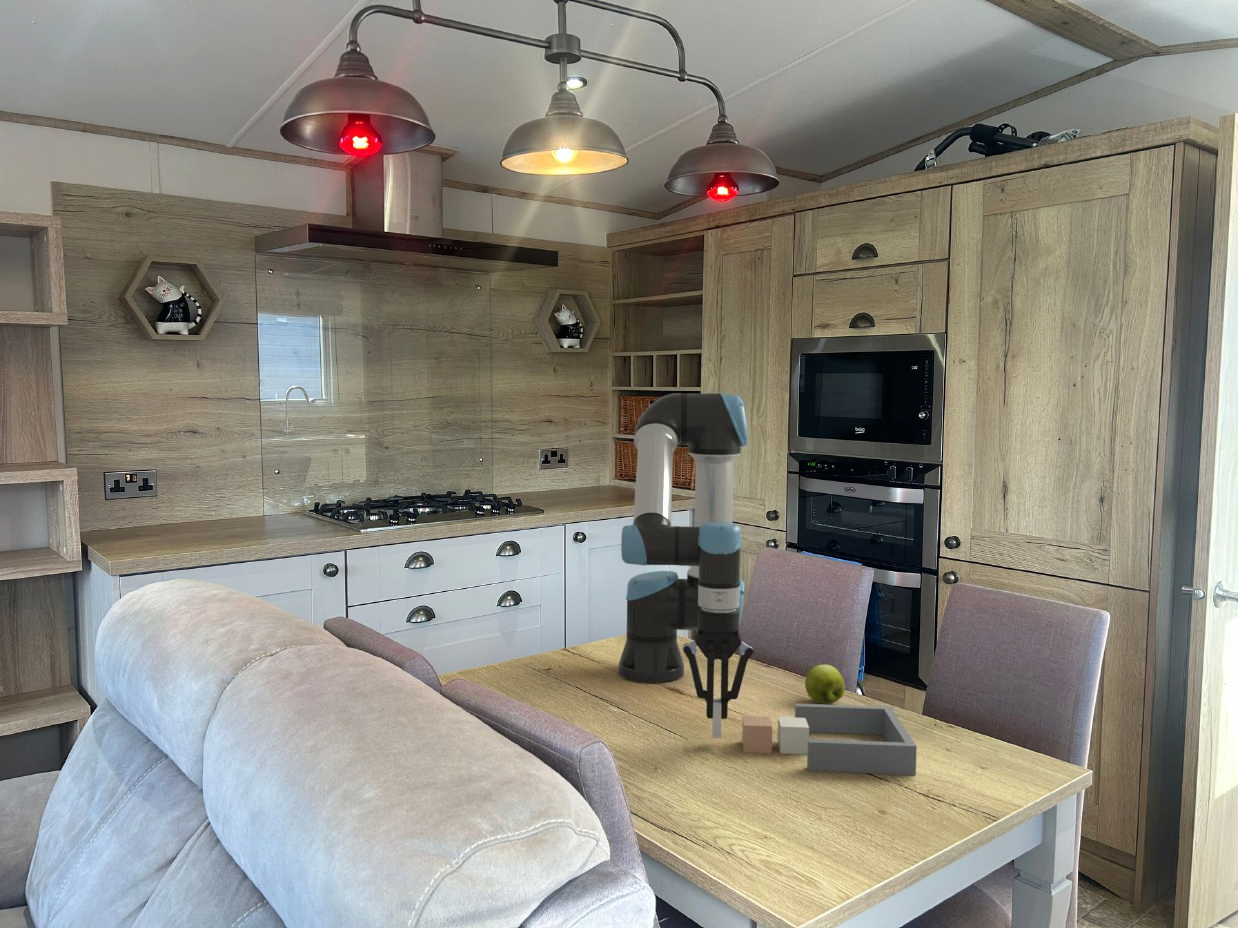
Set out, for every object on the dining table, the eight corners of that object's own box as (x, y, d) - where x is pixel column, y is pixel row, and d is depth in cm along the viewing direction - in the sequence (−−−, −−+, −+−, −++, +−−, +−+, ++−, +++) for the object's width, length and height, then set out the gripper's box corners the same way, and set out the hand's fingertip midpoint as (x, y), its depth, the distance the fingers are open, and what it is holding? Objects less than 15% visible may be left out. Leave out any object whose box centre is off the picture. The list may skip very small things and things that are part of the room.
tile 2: (777, 743, 168) (777, 716, 168) (804, 744, 168) (805, 717, 167) (780, 753, 163) (780, 726, 163) (808, 754, 163) (809, 727, 162)
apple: (828, 694, 196) (829, 658, 196) (852, 708, 188) (853, 670, 187) (796, 698, 194) (797, 661, 193) (819, 711, 185) (820, 673, 184)
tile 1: (742, 741, 169) (742, 715, 168) (769, 742, 168) (769, 716, 168) (743, 752, 164) (744, 725, 163) (771, 753, 163) (772, 726, 163)
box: (794, 728, 175) (795, 703, 175) (889, 732, 174) (890, 706, 174) (808, 770, 155) (808, 742, 155) (915, 774, 154) (916, 746, 154)
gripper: (682, 611, 161) (680, 741, 163) (756, 613, 160) (753, 744, 162) (682, 602, 169) (681, 726, 171) (753, 604, 168) (751, 729, 169)
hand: (716, 735), depth 166 cm, fingers closed
